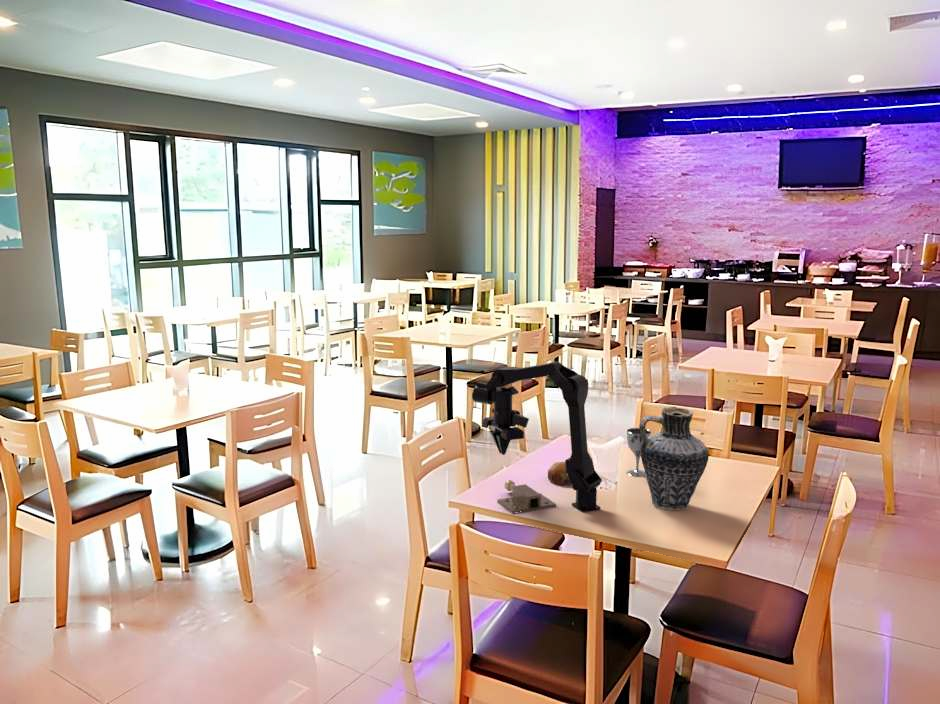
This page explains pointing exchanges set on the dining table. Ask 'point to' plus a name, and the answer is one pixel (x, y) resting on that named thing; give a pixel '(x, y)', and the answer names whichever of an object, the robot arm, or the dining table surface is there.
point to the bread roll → (558, 474)
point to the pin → (509, 485)
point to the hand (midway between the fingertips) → (502, 453)
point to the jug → (672, 459)
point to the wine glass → (636, 448)
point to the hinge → (525, 500)
